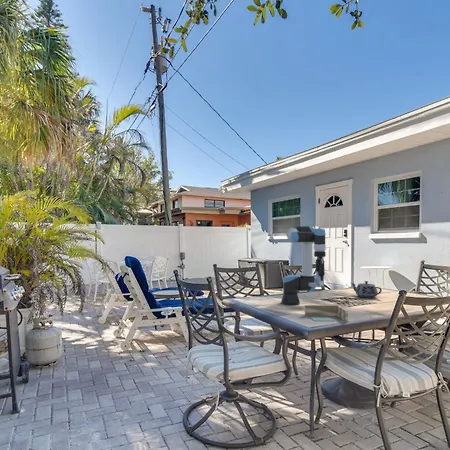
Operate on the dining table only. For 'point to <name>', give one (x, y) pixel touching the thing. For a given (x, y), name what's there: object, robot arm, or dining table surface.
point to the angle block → (316, 281)
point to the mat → (321, 319)
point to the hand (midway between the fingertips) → (320, 284)
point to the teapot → (366, 290)
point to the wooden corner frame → (326, 311)
